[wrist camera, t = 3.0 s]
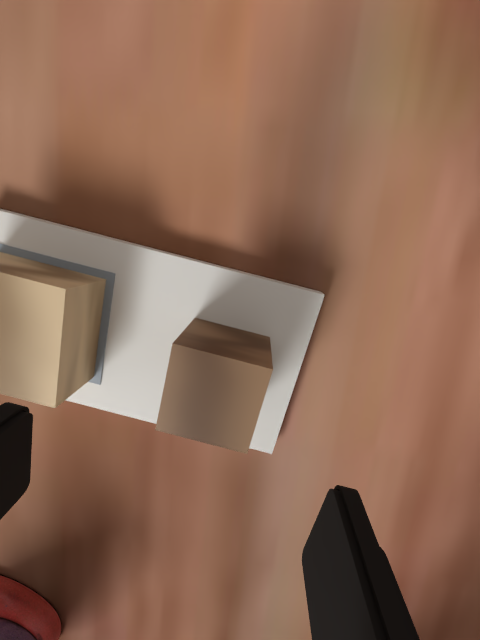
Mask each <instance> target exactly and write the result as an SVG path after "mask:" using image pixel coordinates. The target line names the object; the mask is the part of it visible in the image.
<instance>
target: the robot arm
mask: <svg viewBox="0 0 480 640" xmlns="http://www.w3.org/2000/svg"><path fill="white" fill-rule="evenodd" d="M32 425H33V415H32V414H31V413H29V409H28V407H25V406H21V405H17V404H13V403H9V402H7V403H4V404H2V405H0V519H1V518H2V517H3V516H4V515H5V514H6V513H7V512H8V511H9V510H10V508H11V507H12V506H13V505H14V504H15V503H16V502H17V501H18V500H19V498H20V497H21V496H22V495H23V494H24V493H25V491H26V490H27V488H28V486H29V483H30V469H31V447H32ZM302 566H303V573H304V581H305V589H306V596H307V604H308V611H309V619H310V627H311V634H312V640H420V639H419V637H418V634H417V632H416V629H415V627H414V624H413V622H412V619H411V617H410V614H409V612H408V609H407V607H406V604H405V601H404V599H403V596H402V594H401V591H400V589H399V586H398V584H397V581H396V579H395V576H394V574H393V571H392V569H391V566H390V564H389V561H388V558H387V556H386V554H385V552H384V551H383V550H382V548H381V547H379V544H378V542H377V539H376V537H375V534H374V531H373V529H372V526H371V524H370V521H369V518H368V516H367V513H366V511H365V508H364V505H363V503H362V500H361V498H360V495H359V493H358V491H357V490H356V489H352V488H348V487H344V486H340V485H337V486H335V488H334V489H330V490H329V491H328V493H327V495H326V498H325V500H324V502H323V505H322V507H321V509H320V512H319V514H318V516H317V519H316V521H315V523H314V526H313V528H312V530H311V533H310V535H309V537H308V540H307V542H306V544H305V547H304V549H303V554H302Z"/></svg>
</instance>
